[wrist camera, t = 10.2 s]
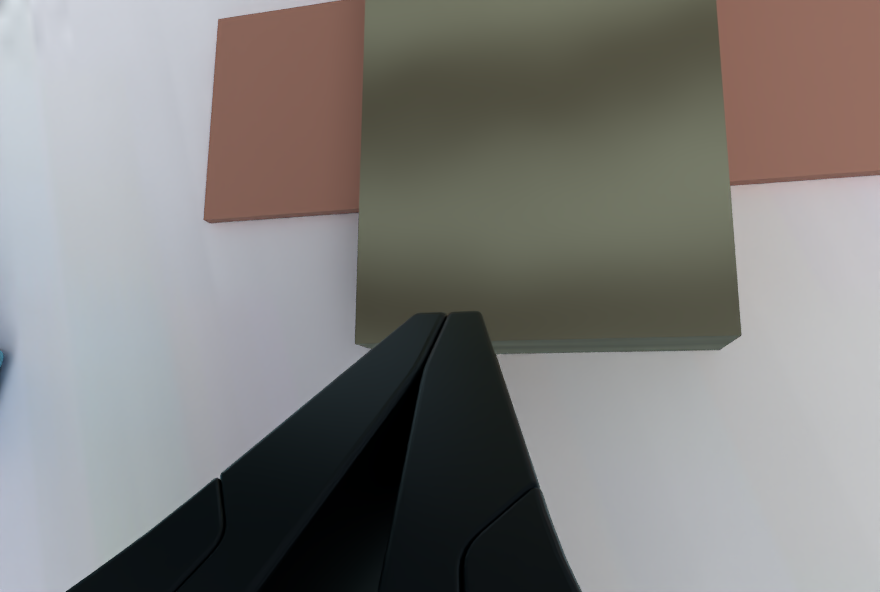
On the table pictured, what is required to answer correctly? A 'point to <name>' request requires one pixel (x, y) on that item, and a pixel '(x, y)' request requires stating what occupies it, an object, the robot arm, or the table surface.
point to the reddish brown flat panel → (341, 84)
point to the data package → (1, 357)
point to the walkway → (547, 173)
